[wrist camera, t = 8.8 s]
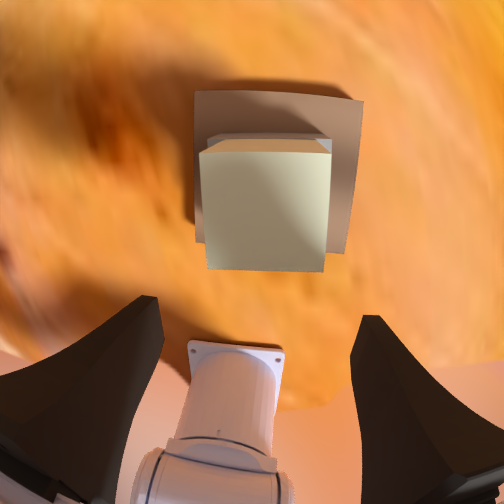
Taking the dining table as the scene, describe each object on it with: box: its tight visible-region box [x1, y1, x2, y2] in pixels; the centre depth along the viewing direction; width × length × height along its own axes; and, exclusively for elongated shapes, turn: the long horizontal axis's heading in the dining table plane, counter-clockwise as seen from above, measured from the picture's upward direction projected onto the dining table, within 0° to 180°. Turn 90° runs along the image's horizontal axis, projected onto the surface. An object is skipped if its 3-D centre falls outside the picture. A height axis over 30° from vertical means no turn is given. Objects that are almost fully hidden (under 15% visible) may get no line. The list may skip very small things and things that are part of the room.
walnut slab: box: [194, 90, 364, 254], centre depth 18 cm, size 9×9×2 cm
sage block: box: [199, 139, 332, 272], centre depth 12 cm, size 4×4×4 cm
